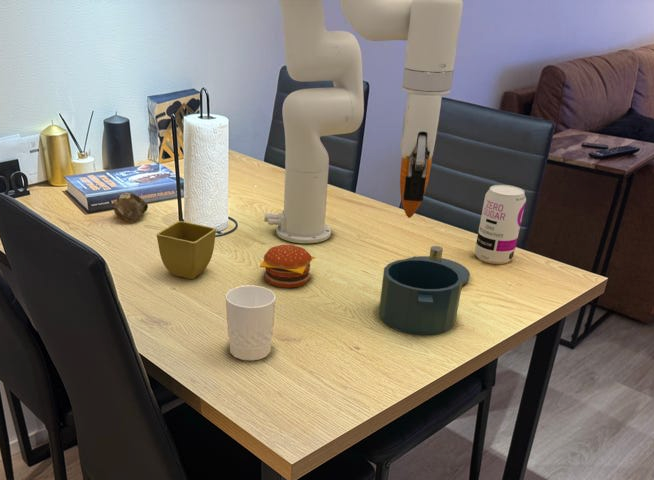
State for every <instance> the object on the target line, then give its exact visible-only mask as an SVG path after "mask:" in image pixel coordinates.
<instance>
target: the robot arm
mask: <svg viewBox="0 0 654 480" xmlns="http://www.w3.org/2000/svg"><path fill="white" fill-rule="evenodd" d="M279 4H280V9H281V16H282V17H281V19H282V31H283V46H284V57H285V66H286V71H287V74H288V76H289V77H290V78H291V79H292V80H293V81H297V82H301V83H302V82H303V83H304V82H307V83H308V82H329V81H330V82H331V81H332V84H333V87H332V86H331V87H314V88H313V87H310V88H301V89H298V90H295V91H292V92H290V93H289V94H288V95H287V96H286V97H285V98H284V101H283V102H282V103H283V104H282V110H281V111H282V112H281V113H282V122H283V128H284V130H283V131H284V138H285V139H284V141H285V163H284V165H285V166H284V191H283V192H284V195H283V210H282V212H278V214H275V213H266V212H264V219H263V221H264V222H265V223H267V225H268V226H269V225H270V226H276V228H275V229H276V231H275V233H276V236H277V237H279V238H280V239H282V240H283V241H285V242H290V243H293V244H317V243H323V242H324V241H326V240H328V239H329V238H331V236H332V229H331V227H329V226H328V225H327V224H326V212H327V199H328V198H327V197H328V196H327V195H328V182H329V171H330V170H329V169H330V168H329V167H330V158H329V153H328V151H327V148H326V147H325V146H324V144H323V143H322V141H321V137H326V136H337V135H346V134H351V133H354V132H356V131H357V130H358V129H359V128H360V127H361V125H362V123H363V119H364V113H365V99H364V98H365V97H364V78H363V77H364V76H363V57H362V50H361V46H360V44H359V43H360V42H358V39H357V37H356V36H355V35H354V34H353V33H351V32H349V31H345V30H327V28H326V24H325V23H326V22H325V8H324V4H323V1H322V0H279ZM339 4H340V5H339V6H340V9H341V13H342V15H343V17H344V19H345V20H346V21H347V23H348V24H349V26H351V28H352V29H353V30H354V31H355V32H356V34H357V35H359V36H360V37H361V38H363V39H365V40H367V41H371V42H386V41H387V42H388V41H406V50H405V59H404V67H403V76H402V85H401V91H402V92H404V93H407V95H406V100H405V107H404V115H403V122H402V130H401V137H400V138H401V139H400V143H399V144H400V155H401V158H402V157H403V158H406V156H410V158H409V160H410V161H409V170H408V176H406V181H405V189H404V200H408V201H421V202H422V201H423V200H424V196H425V193H424V189H425V182H426V177H425V175H426V166H427V158H428V160H429V159H430V158H432V159H433V156H434V151H435V144H436V141H437V134H438V127H439V123H440V114H441V108H442V99H443V96H445V95H449V94H451V90H452V83H453V75H454V70H455V61H456V58H457V57H456V56H457V48H458V43H459V35H460V27H461V23H462V16H463V9H464V2H463V0H339ZM417 138H418V142H417ZM413 153H416V157H413ZM413 161H416V162H415V163H414V164H413Z"/></svg>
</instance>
